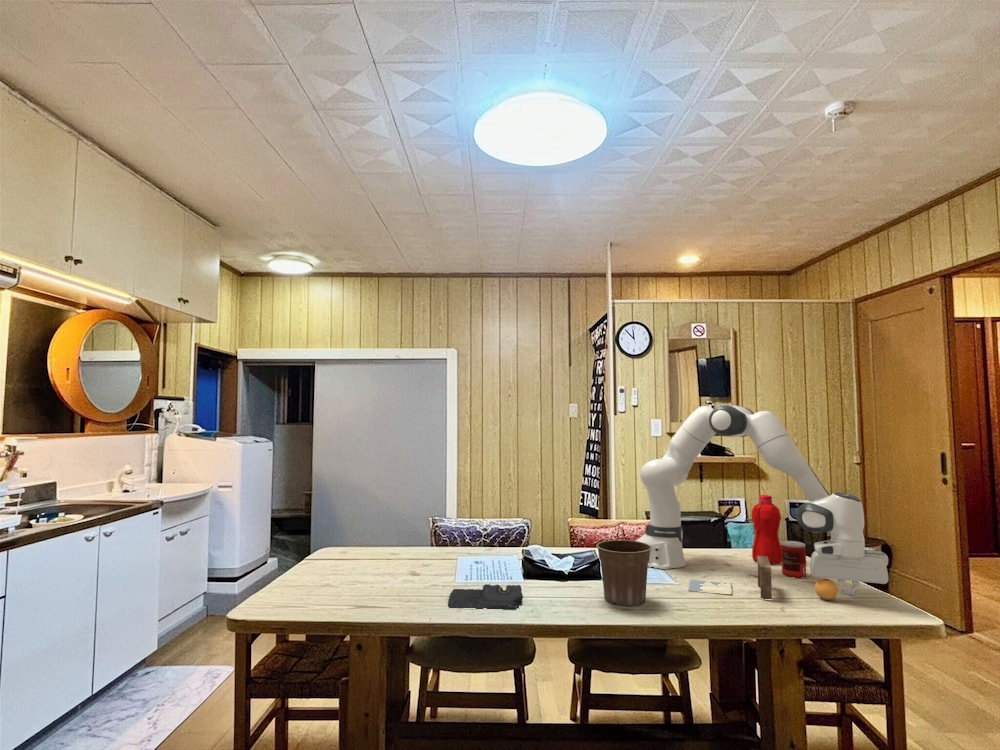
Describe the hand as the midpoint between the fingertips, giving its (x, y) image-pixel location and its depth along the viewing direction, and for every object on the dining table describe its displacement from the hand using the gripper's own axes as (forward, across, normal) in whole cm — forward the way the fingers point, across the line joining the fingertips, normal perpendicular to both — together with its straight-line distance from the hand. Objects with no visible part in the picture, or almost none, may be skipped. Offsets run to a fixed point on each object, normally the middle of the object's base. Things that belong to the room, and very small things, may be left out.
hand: (848, 595), depth 175 cm
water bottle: (+2, +20, -42) cm, 46 cm away
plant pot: (+3, +63, +23) cm, 67 cm away
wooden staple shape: (+2, +23, 0) cm, 23 cm away
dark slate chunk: (+4, +101, +39) cm, 109 cm away
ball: (-1, +6, 0) cm, 6 cm away
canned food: (+2, +12, -26) cm, 28 cm away
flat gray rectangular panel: (+2, +39, 0) cm, 39 cm away
